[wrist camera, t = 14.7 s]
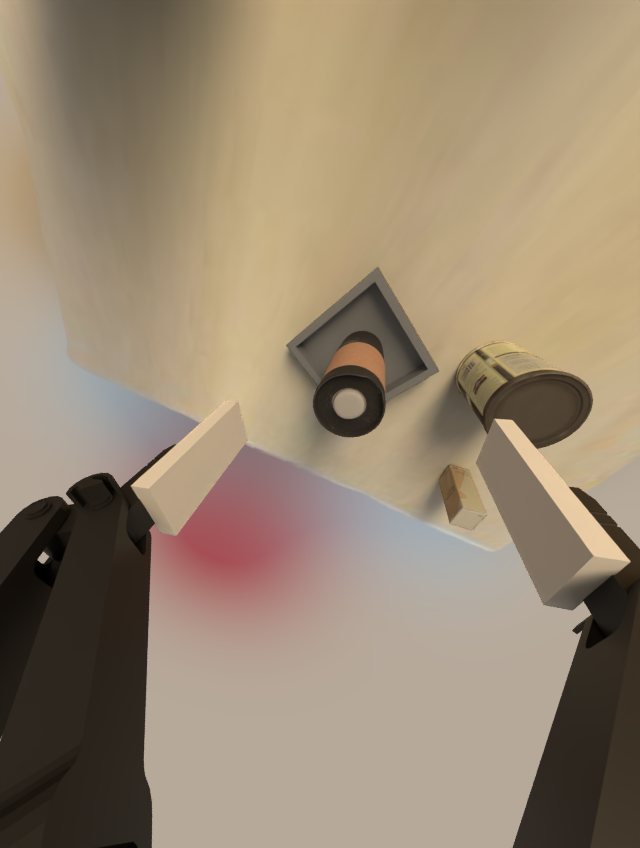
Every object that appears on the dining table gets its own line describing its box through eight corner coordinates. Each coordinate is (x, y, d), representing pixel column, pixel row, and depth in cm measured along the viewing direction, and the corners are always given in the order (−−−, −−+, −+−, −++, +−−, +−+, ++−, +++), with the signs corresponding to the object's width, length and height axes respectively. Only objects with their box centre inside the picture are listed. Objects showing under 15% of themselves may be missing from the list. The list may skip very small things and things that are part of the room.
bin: (292, 339, 44) (285, 345, 41) (378, 266, 36) (377, 266, 33) (349, 411, 49) (347, 422, 46) (434, 363, 41) (439, 371, 38)
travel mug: (339, 373, 45) (313, 435, 28) (338, 328, 41) (309, 371, 24) (382, 374, 43) (383, 441, 27) (386, 328, 39) (390, 373, 23)
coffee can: (522, 397, 41) (577, 449, 30) (453, 403, 44) (479, 451, 33) (536, 334, 36) (609, 366, 25) (457, 345, 39) (490, 378, 28)
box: (449, 463, 51) (463, 506, 42) (469, 469, 51) (489, 514, 42) (437, 481, 54) (449, 524, 45) (457, 486, 54) (472, 532, 45)
